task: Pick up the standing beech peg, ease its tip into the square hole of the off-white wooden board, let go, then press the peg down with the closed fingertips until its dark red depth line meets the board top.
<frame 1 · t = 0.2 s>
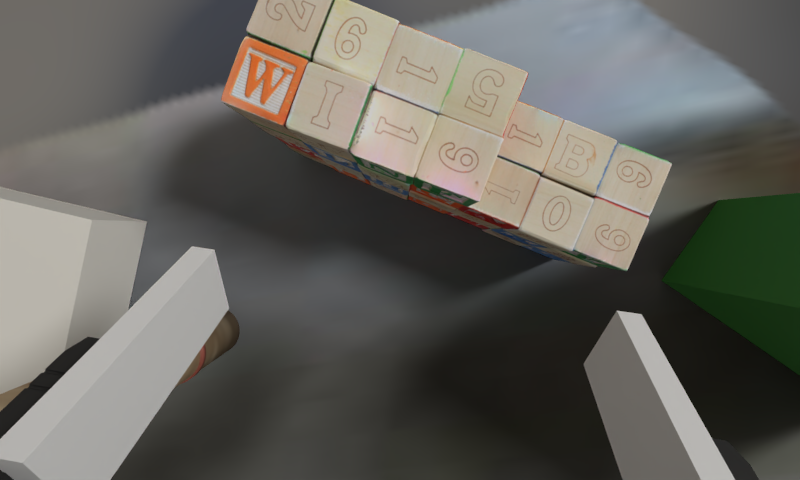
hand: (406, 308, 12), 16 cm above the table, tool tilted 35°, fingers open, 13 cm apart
hole board: (2, 279, 28), on the table
hardback book: (781, 304, 28), on the table
stack of blocks: (440, 170, 28), on the table
beech peg: (216, 330, 28), on the table
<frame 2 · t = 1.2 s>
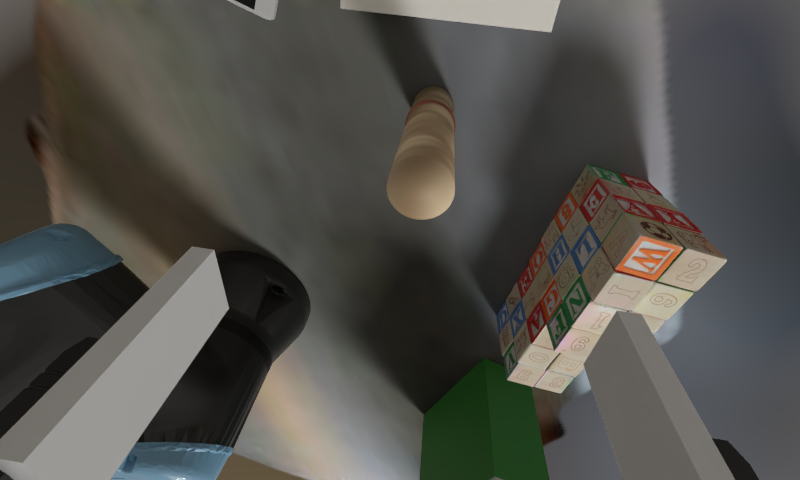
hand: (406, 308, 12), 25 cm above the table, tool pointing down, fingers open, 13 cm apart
hardback book: (472, 396, 56), on the table
stack of blocks: (560, 256, 40), on the table
beech peg: (432, 107, 32), on the table
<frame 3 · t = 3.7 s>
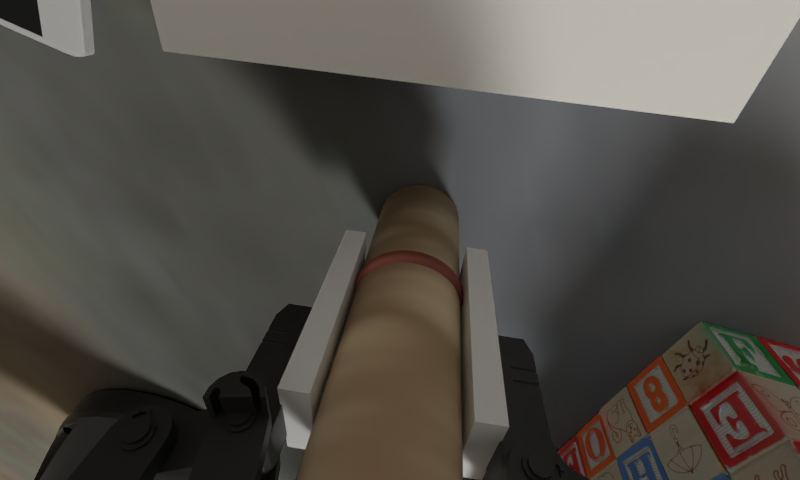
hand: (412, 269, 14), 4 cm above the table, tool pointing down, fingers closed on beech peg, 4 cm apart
stack of blocks: (627, 428, 25), on the table
beech peg: (419, 219, 17), on the table, touching gripper
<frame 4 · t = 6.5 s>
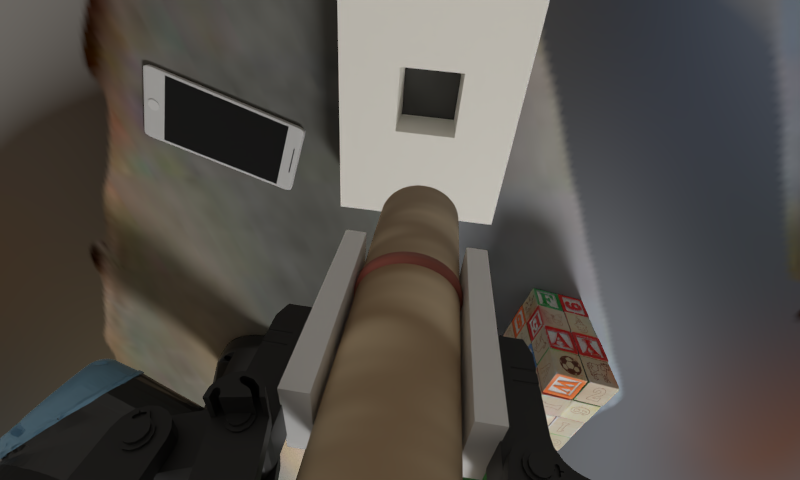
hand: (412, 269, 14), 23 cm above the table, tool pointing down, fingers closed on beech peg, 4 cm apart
hole board: (431, 89, 32), on the table
smartphone: (227, 129, 37), on the table
stack of blocks: (519, 346, 50), on the table
beech peg: (419, 220, 17), point 20 cm above the table, touching gripper
when the fingers open (7 cm above the table, at t = 9.1 s): beech peg drops 3 cm, resting in hole board.
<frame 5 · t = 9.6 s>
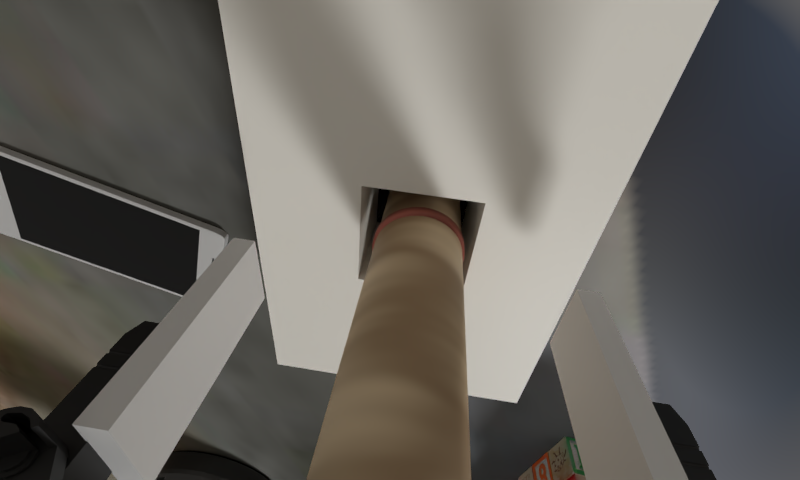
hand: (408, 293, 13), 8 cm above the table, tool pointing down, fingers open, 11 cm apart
hole board: (423, 190, 20), on the table
smartphone: (114, 224, 24), on the table
beech peg: (425, 190, 20), resting in hole board
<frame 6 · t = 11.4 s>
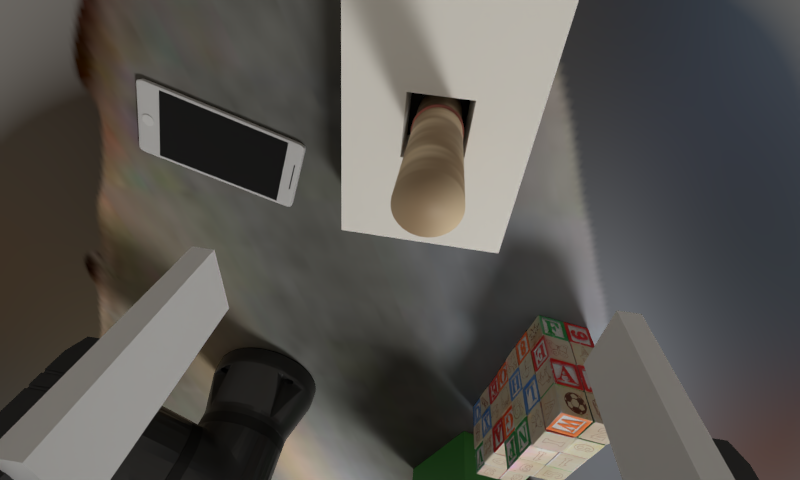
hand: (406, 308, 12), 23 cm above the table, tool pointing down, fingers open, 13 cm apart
hole board: (438, 110, 31), on the table
hardback book: (455, 457, 65), on the table
smartphone: (225, 144, 36), on the table
stack of blocks: (522, 370, 49), on the table
beech peg: (439, 110, 31), resting in hole board
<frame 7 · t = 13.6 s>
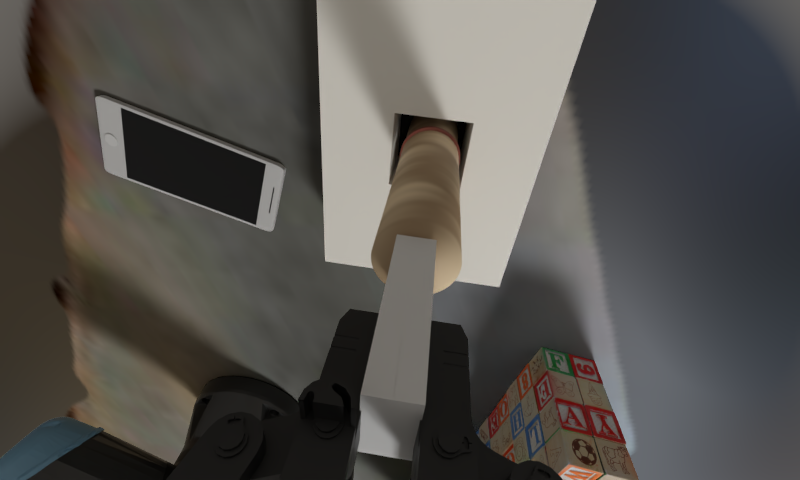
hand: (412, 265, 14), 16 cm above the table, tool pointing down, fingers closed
hole board: (432, 130, 28), on the table
smartphone: (197, 165, 32), on the table
stack of blocks: (524, 401, 46), on the table
beech peg: (433, 130, 28), resting in hole board, touching gripper
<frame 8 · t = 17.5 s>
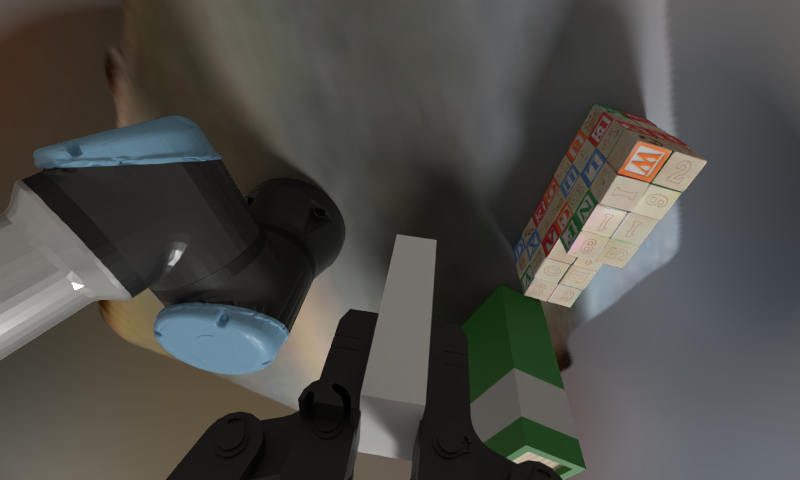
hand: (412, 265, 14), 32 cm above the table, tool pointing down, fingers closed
hardback book: (488, 325, 62), on the table
stack of blocks: (570, 191, 47), on the table
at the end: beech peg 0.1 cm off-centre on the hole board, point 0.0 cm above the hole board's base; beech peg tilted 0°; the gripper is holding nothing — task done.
